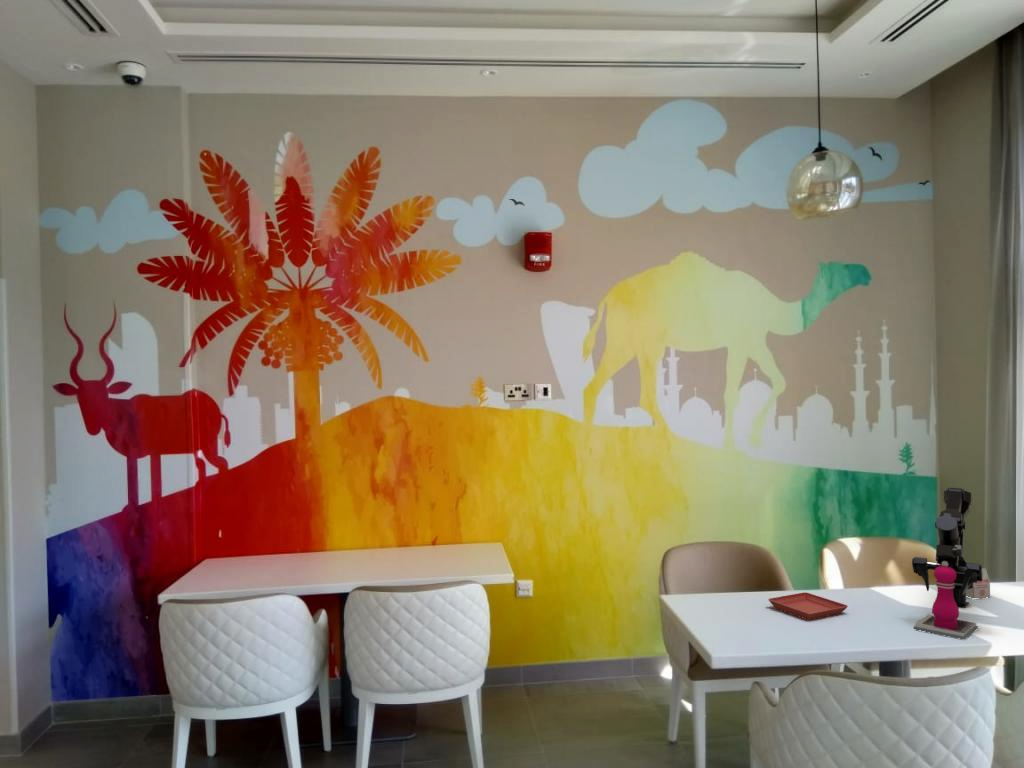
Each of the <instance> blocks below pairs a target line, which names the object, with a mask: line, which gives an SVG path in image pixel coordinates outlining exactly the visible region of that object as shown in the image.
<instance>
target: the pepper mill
mask: <svg viewBox="0 0 1024 768" xmlns="http://www.w3.org/2000/svg"><path fill="white" fill-rule="evenodd" d="M942 565H943V566H938V567H937V568H936V569H935V570H933V571H934V572H933V576H934V578H935V579H936V581H935V586H936V587H937V592H936V593H937V594H936V598H935V599H934V601H933V604H932V607H931V612H932V615H934V616H935V617H936V618H935V619H934V625H935V626H936V627H941V628H946V629H956V628H957V621H955V620H956V619H957V620H958V618H959V616H960V610H959V607H957V605H956V602H955V600H954V597H953V588H954V587H955V586H954V584H955V583H954V582H953V581H954V580H955V579H956V572H955V570H954V569H953V568H951V567H949V566H948V562H947V561H943V562H942Z"/></svg>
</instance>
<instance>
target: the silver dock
mask: <svg viewBox="0 0 1024 768" xmlns="http://www.w3.org/2000/svg"><path fill="white" fill-rule="evenodd" d="M935 618H936V617H935V616H934V615H933V614H927V615H925V616H924V617H923V618H922V619H920V620H918V621H917V622H916V623H915V625H914V626H913V628H912V629H917V630H921V631H920V632H922V631H926V632H925V633H927V632H930V633H929V634H932V633H934V634H933V635H937V634H938V636H942V635H945V636H944V637H947V636H950V637H949V638H952V637H954V639H957V638H960V639H959V640H962V639H966V638H967V637H968V636H969V637H970V636H971V635H972V633H973V632H974V631H975V630H976V629H977V628H978V629H979V626H978V625H977V623H976V622H973V621H968V620H961V619H958V618H957V619H956V620H955V621H957V628H956V629H946V628H941V627H936V626H935V625H934V619H935ZM978 629H977V630H978ZM917 630H916V631H917ZM977 630H976V631H977ZM976 631H975V632H976ZM975 632H974V633H975ZM974 633H973V634H974ZM969 637H968V638H969ZM968 638H967V639H968ZM967 639H966V640H967Z"/></svg>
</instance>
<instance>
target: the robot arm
mask: <svg viewBox="0 0 1024 768" xmlns="http://www.w3.org/2000/svg"><path fill="white" fill-rule="evenodd" d="M943 503H944V505H945V509H943V510H942V511H940V513H939V517H937V518H936V520H935V522H934V526H935V529H936V532H937V536H938V544H936V547H935V548H936V551H935V561H936V563H935V562H928V558H927V557H920V556H914V557H912V559H911V560H912V562H911V565H912V571H913V573H914V574H915V575H916V574H917V576H919V577H921V578H922V580H923V582H924V585H925V587H926V588H925V589H926V591H927V592H929V591H930V576H929V570H933V571H934V570H935V569H936V568H937V567H938V566H943V565H942V562H943V561H947V562H948V566H949V567H951V568H953V569H954V570H955V572H956V579H955V580H954V581H953V582H954V583H955V584H954V586H955V587H954V588H953V597H954V600H955V602H956V605H957V607H958V608H964V609H965V608H966V607H968V606H967V605H968V604H969V605H970V602H969V601H967V597H966V591H967V589H970V588H973V583H977V581H982V579H983V572H982V569H983V566H982V564H980V563H976V562H966V560H965V559H964V549H965V548H964V546H965V545H964V542H965V530H966V529H967V527H968V526H967V523H966V521H965V518H966V517H967V516H968V515H969V514H970V511H971V507H972V506H973V494H972V492H969V491H967V490H965V489H964V488H961V487H949V488H947V489H946V490H944V491H943Z"/></svg>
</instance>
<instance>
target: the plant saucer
mask: <svg viewBox="0 0 1024 768" xmlns="http://www.w3.org/2000/svg"><path fill="white" fill-rule="evenodd" d="M767 600H768V601H769V602H770V604H771V605H772V606H773V607H774V608H775V609H776V610H779V611H781V610H782V612H784V611H785V612H784V613H787V612H788V614H790V613H791V615H793V614H794V615H793V616H796V615H797V616H796V617H799V616H800V617H799V618H802V617H803V618H802V619H804V618H806V619H805V620H807V619H811V620H815V619H814V618H816V619H820V618H819V617H821V618H825V616H826V617H830V615H831V616H835V615H834V614H836V615H839V613H840V614H842V613H843V612H844V611H845V610H846V609H847V608H848V607H849V605H848V604H844V603H842V602H838V601H835V600H832V599H829V598H825V597H823V596H820V595H816V594H812V593H810V592H805V591H804V592H799V593H793V594H788V595H782V596H776V597H772V598H770V597H769V598H768V599H767Z"/></svg>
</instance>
